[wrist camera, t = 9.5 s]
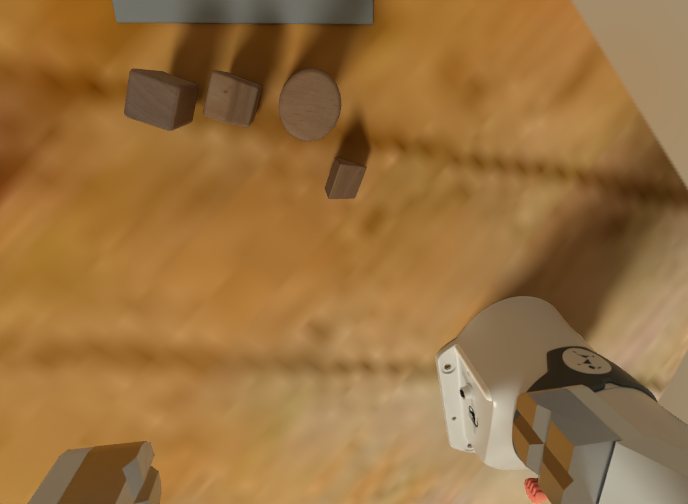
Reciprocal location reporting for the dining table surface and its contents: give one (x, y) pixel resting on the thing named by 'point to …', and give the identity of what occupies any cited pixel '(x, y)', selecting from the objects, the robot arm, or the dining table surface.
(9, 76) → the dining table surface
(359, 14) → the mat
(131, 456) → the robot arm
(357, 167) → the wooden block set
